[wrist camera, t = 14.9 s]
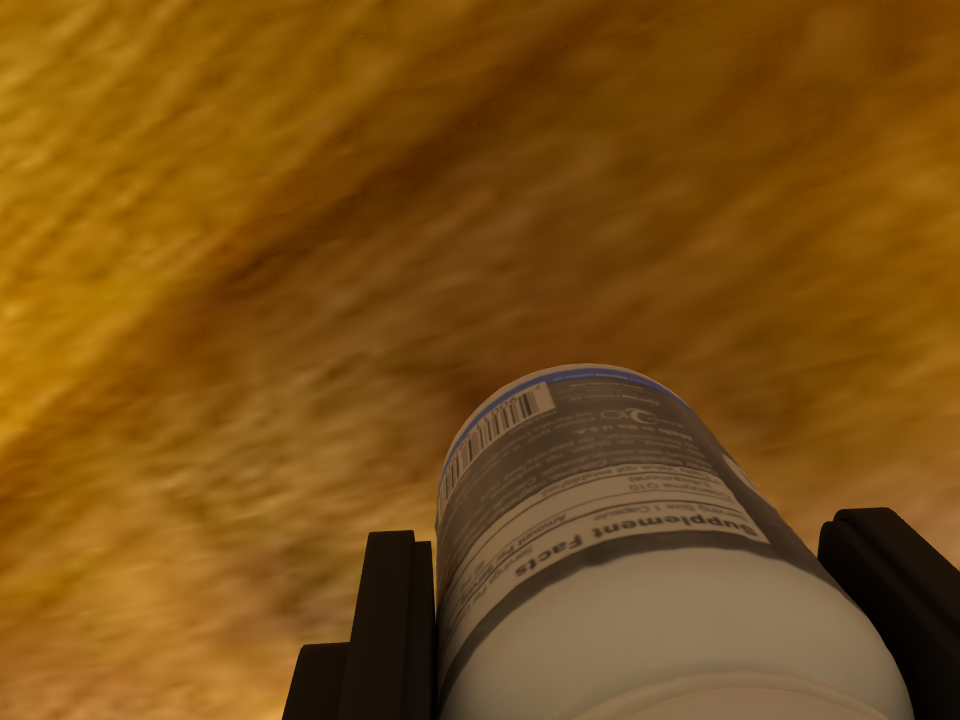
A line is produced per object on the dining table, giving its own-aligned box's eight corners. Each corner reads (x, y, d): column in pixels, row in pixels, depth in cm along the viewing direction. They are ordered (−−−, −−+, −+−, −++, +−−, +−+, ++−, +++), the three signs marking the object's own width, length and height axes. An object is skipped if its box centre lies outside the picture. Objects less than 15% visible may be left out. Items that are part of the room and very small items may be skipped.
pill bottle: (723, 584, 14) (1084, 1204, 6) (462, 627, 14) (490, 1301, 6) (704, 331, 13) (1148, 718, 5) (412, 380, 13) (366, 848, 5)
